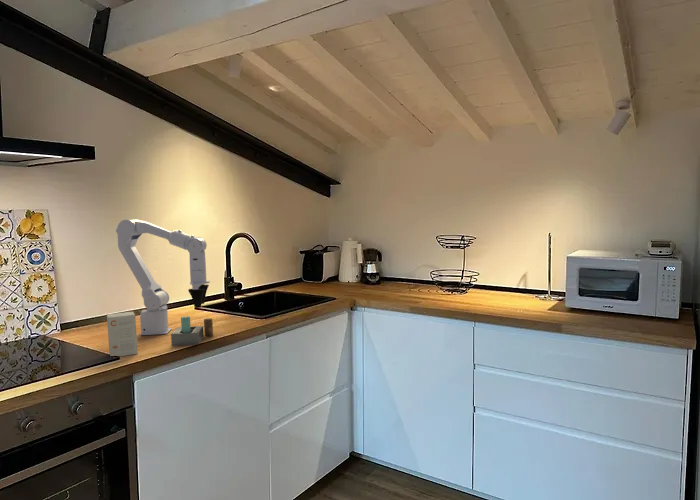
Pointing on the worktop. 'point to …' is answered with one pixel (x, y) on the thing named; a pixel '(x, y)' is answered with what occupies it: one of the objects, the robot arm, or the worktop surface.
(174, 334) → the bore block
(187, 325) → the teal dowel
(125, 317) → the small box
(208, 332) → the walnut dowel
